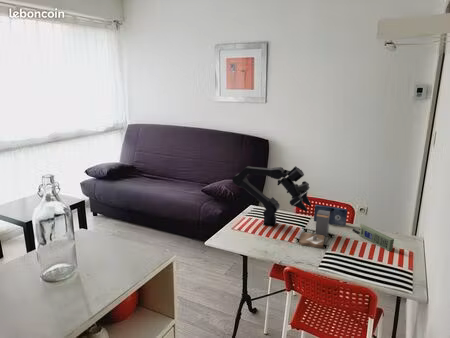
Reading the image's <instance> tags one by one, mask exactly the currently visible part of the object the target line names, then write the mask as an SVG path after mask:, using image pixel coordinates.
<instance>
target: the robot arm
mask: <svg viewBox="0 0 450 338" xmlns="http://www.w3.org/2000/svg"><path fill="white" fill-rule="evenodd" d="M249 175H255V176H266V177H269V178H271V179H274V180H277V186H280V185H282V186H283V188H284V189H285V190H286V193H287V194H289V195H290V196H291V199H290V200H289V205H291V207H295V208H298V209H300V210H302V211H304V212H308V209H307V206H309V207H310V206H312V204H311V202H310V199H309V198H308V191H309V189H310V186H309V185H310V183H308V182H307V181H305V180H304V181H302V183H301V184H297V183H294V182H298V181H299V180H300V179H302V178H303V177H304V176H305V173H304V171H303V170H302V169H301V168H299V167H297V166H294V167H293V168H292V169H291V170H287V169H284V167H281V166H279V167H277V166H276V167H271V168H270V167H269V168H268V167H259V166H258V167H257V166H250V165H248V166H246V167H245V168H243V170H242V171H240V172H238V173H237V174H235V175H233V177H232V179H231V180H232V183H233V185H235V186H237V187H238V188H241V189H244V190H245V191H246V192H247V193H249V194H250V195H251V196H252V197H254V198H255V199H256V200H257V201H259V202H260V203H261V204H262V205H263V207H264V209H265V210H264V211H263V212H262V214H263V223H262V225H263V226H269V227H275V225H276V224H277V216H276V213H277V212H278V210H279V209H280V207H281V205H280V203H279V200H276V199H275V198H274V197H273V196H272V197H271V198H270V197H268V196H266V195H265V194H264V193H263V192H262V191H260V190H259V189H258V188H257V187H256V186H254V185H253V184H252V183H250V181H249V178H248V176H249ZM305 204H306V205H307V206H306V205H305Z"/></svg>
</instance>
